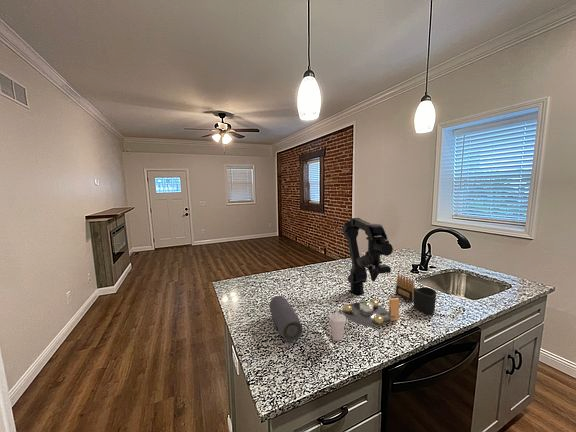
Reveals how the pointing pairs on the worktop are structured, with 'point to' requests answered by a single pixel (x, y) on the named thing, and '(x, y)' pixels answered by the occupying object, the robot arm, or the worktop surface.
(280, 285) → the worktop surface
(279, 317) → the bluetooth speaker
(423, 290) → the pen holder
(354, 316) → the tribrach plate
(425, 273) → the worktop surface
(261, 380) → the worktop surface
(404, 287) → the ammunition clip
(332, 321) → the smoothie
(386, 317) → the lever
